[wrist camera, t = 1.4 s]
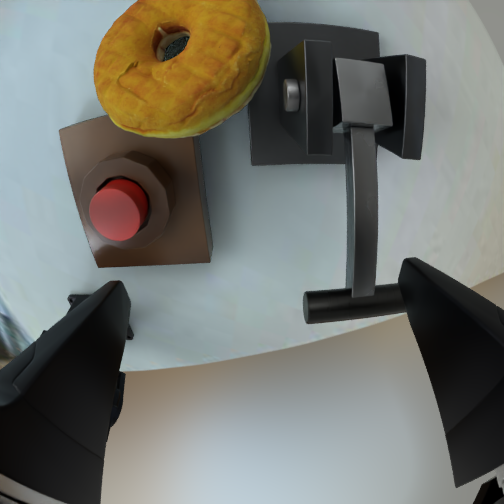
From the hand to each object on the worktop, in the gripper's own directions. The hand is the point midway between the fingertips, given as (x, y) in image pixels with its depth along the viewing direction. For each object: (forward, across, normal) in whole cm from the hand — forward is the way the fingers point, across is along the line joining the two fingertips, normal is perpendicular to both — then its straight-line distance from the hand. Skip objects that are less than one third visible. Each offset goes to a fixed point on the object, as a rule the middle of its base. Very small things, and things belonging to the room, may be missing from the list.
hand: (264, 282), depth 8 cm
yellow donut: (+8, +4, -9) cm, 13 cm away
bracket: (+13, -4, -5) cm, 15 cm away
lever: (+5, -4, -1) cm, 7 cm away
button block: (+13, +9, +1) cm, 16 cm away
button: (+10, +9, +1) cm, 13 cm away
